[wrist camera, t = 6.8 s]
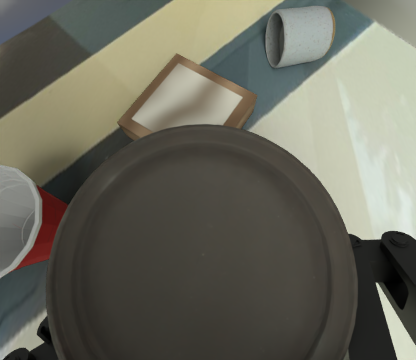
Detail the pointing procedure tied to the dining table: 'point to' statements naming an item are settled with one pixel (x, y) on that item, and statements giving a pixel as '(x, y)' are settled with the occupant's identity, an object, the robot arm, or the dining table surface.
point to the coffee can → (201, 255)
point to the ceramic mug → (299, 35)
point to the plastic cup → (25, 220)
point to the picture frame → (187, 101)
